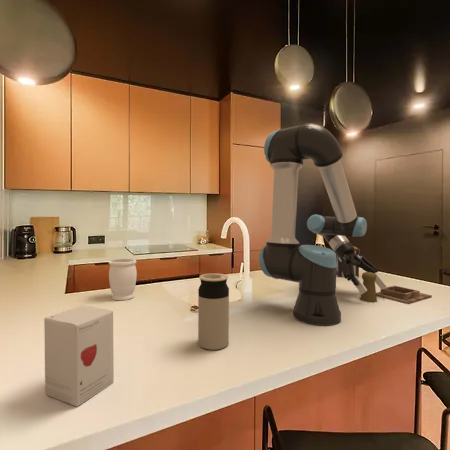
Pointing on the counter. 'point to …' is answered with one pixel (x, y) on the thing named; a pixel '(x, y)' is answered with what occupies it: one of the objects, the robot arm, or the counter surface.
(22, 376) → the counter surface
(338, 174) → the robot arm
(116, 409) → the counter surface
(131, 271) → the jar
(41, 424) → the counter surface
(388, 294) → the walnut holder
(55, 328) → the supplement box
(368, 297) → the cork
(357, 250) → the protein box
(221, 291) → the travel mug
